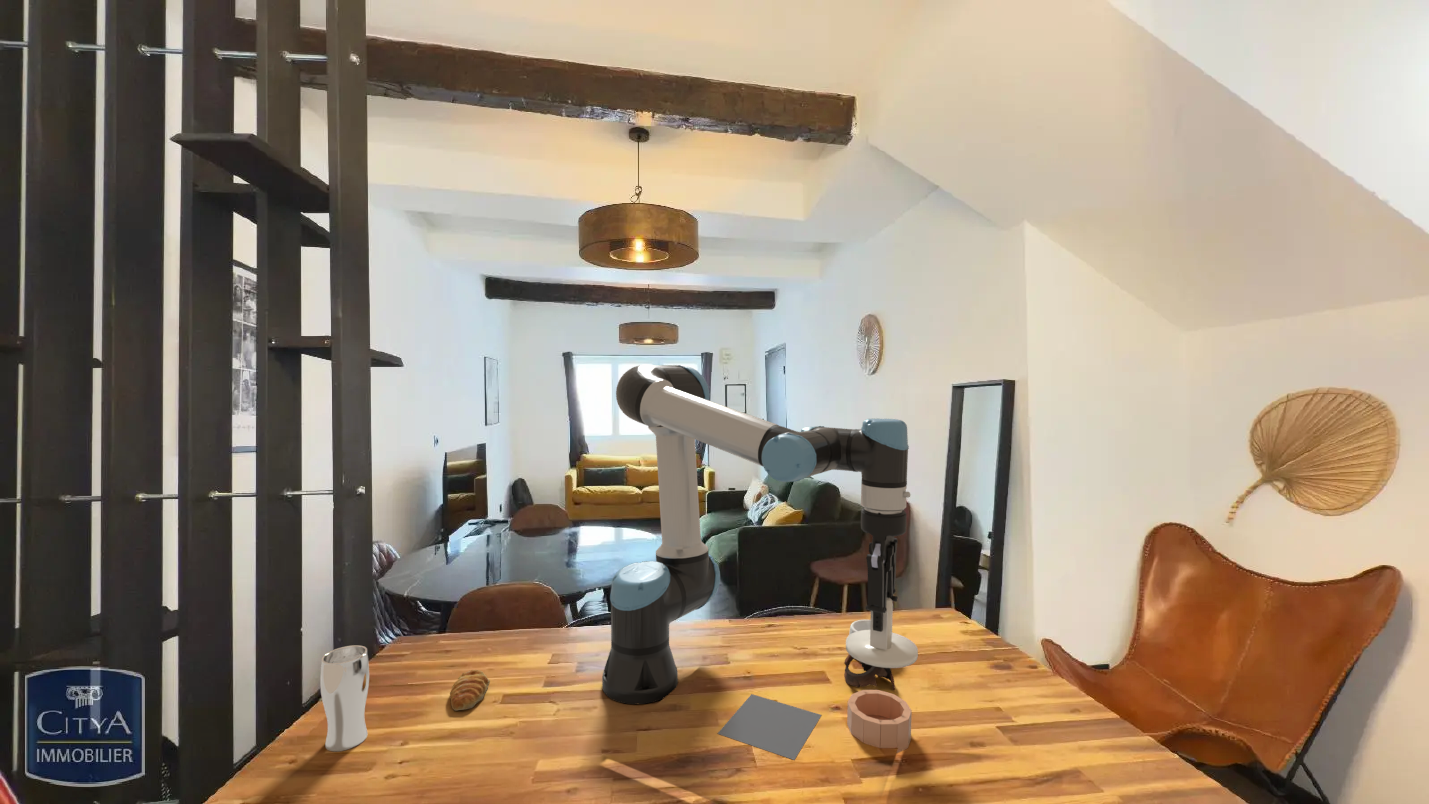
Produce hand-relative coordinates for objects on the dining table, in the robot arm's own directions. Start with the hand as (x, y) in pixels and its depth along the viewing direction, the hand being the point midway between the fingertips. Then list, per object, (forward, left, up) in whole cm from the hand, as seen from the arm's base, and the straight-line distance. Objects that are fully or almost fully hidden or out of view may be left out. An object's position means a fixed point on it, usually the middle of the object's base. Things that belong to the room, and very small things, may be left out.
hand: (881, 642), depth 100 cm
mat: (-17, -8, -16) cm, 25 cm away
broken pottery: (-6, +16, -17) cm, 24 cm away
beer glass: (-79, -46, -17) cm, 93 cm away
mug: (-8, +28, -17) cm, 34 cm away
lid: (0, 0, -1) cm, 1 cm away
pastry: (-72, -27, -17) cm, 79 cm away
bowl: (0, 0, -16) cm, 16 cm away
